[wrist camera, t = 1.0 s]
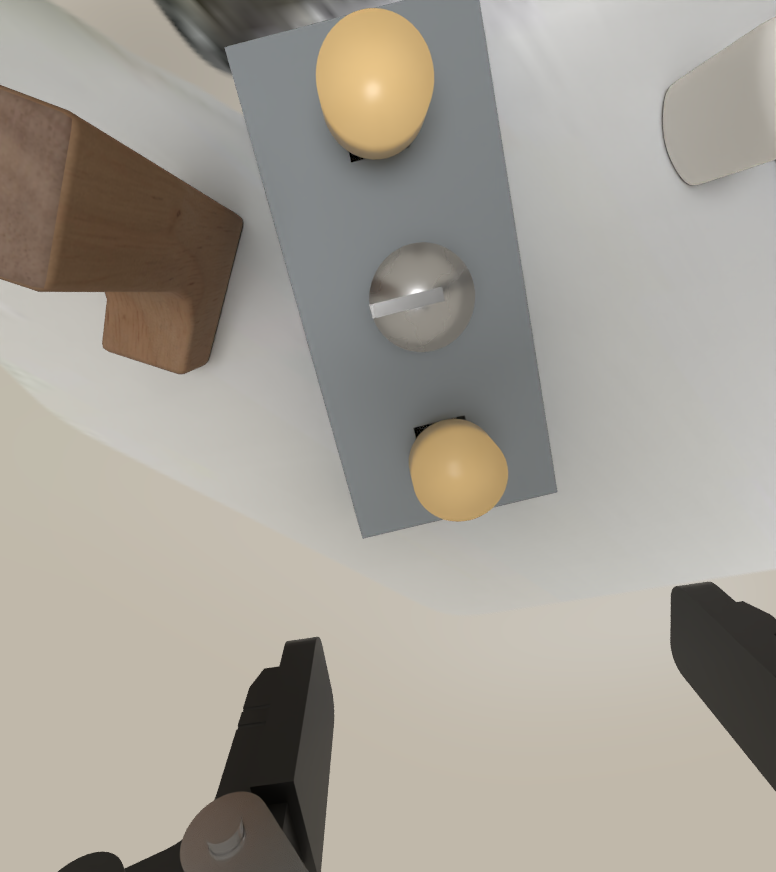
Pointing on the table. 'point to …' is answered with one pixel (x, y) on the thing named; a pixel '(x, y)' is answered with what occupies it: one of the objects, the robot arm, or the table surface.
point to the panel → (383, 234)
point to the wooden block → (112, 233)
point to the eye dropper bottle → (725, 110)
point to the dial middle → (422, 297)
